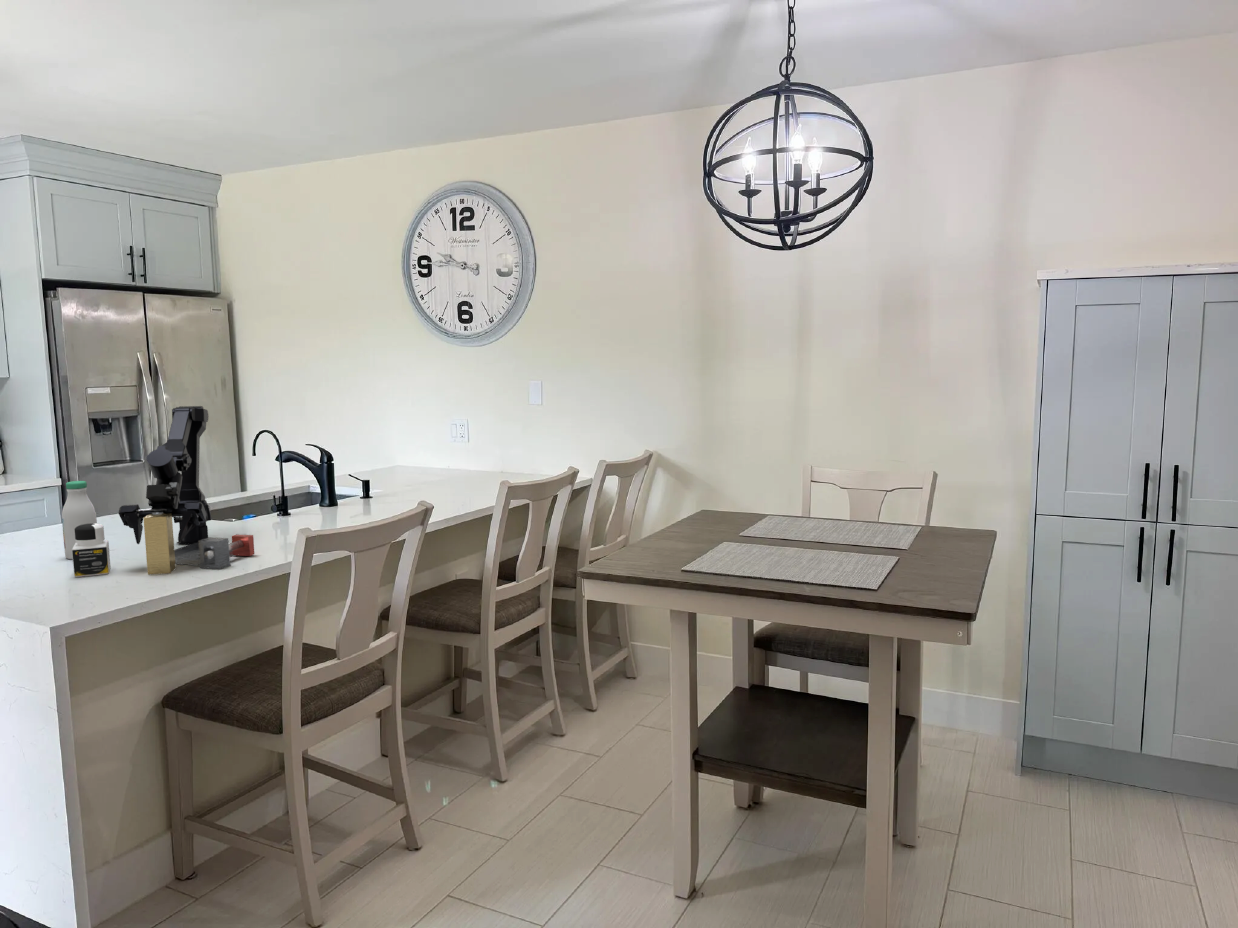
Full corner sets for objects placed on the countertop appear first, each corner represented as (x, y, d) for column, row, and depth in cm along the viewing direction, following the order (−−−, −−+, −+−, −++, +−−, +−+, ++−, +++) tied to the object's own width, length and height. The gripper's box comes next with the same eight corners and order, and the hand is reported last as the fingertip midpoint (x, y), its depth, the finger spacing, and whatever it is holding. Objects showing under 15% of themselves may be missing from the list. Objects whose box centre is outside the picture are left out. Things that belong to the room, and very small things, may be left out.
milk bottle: (106, 554, 228) (100, 480, 225) (80, 560, 221) (73, 484, 218) (85, 552, 230) (78, 479, 228) (58, 558, 223) (51, 483, 220)
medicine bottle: (74, 577, 204) (69, 528, 202) (77, 571, 210) (73, 523, 209) (108, 574, 207) (104, 525, 206) (110, 567, 214) (106, 520, 212)
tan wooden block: (153, 569, 211) (149, 510, 209) (175, 568, 213) (171, 510, 211) (147, 574, 207) (143, 514, 205) (170, 573, 208) (166, 513, 206)
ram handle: (199, 567, 212) (198, 547, 211) (237, 553, 227) (236, 534, 226) (217, 568, 211) (216, 547, 210) (254, 554, 226) (253, 535, 225)
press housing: (200, 568, 213) (198, 540, 212) (210, 564, 216) (208, 537, 216) (220, 569, 212) (218, 541, 211) (230, 565, 215) (228, 538, 215)
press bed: (164, 563, 217) (163, 553, 217) (196, 552, 229) (195, 542, 229) (206, 565, 215) (205, 555, 215) (235, 554, 227) (235, 544, 226)
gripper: (117, 472, 208) (106, 525, 199) (200, 470, 213) (192, 521, 204) (130, 499, 217) (119, 551, 208) (209, 496, 221) (202, 546, 212)
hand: (158, 542), depth 208 cm, fingers open, 9 cm apart
